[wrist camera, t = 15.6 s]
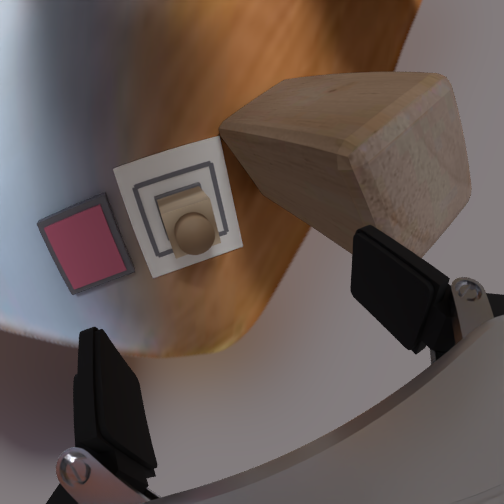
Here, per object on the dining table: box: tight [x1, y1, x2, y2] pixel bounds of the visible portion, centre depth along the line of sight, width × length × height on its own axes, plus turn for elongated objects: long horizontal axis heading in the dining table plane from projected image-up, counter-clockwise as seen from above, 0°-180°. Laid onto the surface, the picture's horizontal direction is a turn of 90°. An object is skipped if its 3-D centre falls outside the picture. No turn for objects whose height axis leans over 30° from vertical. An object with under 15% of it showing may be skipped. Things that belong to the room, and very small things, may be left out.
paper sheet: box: [113, 136, 243, 278], centre depth 30 cm, size 13×11×1 cm
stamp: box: [154, 182, 221, 259], centre depth 27 cm, size 5×5×7 cm
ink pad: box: [37, 193, 135, 295], centre depth 28 cm, size 9×8×1 cm
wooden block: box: [219, 72, 471, 258], centre depth 22 cm, size 10×10×20 cm
